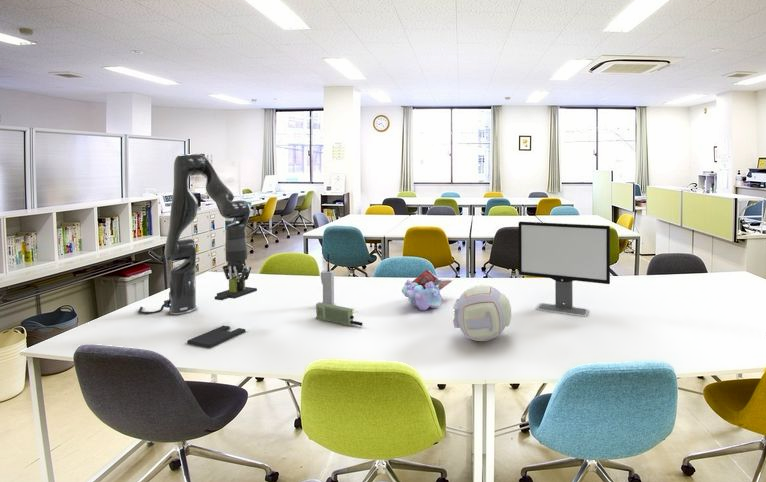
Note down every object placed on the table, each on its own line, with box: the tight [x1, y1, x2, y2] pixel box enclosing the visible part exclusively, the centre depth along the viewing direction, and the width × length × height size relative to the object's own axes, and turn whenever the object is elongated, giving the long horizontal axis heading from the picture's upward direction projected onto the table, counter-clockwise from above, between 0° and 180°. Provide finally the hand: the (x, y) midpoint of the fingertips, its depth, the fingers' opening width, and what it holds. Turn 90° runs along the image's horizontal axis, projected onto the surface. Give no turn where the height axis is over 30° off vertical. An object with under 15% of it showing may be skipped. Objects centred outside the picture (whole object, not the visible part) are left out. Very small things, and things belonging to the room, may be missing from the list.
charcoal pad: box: [186, 324, 246, 349], centre depth 142 cm, size 12×14×1 cm
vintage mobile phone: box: [320, 253, 335, 305], centre depth 174 cm, size 4×5×25 cm
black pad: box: [214, 276, 258, 301], centre depth 151 cm, size 10×13×6 cm
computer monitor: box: [518, 221, 611, 317], centre depth 168 cm, size 41×8×40 cm, turn 68°
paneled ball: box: [452, 284, 512, 342], centre depth 140 cm, size 21×22×20 cm
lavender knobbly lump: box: [401, 269, 454, 311], centre depth 176 cm, size 20×22×18 cm
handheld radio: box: [315, 302, 363, 327], centre depth 156 cm, size 7×3×25 cm
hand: (237, 289), depth 152 cm, fingers closed on black pad, 2 cm apart
